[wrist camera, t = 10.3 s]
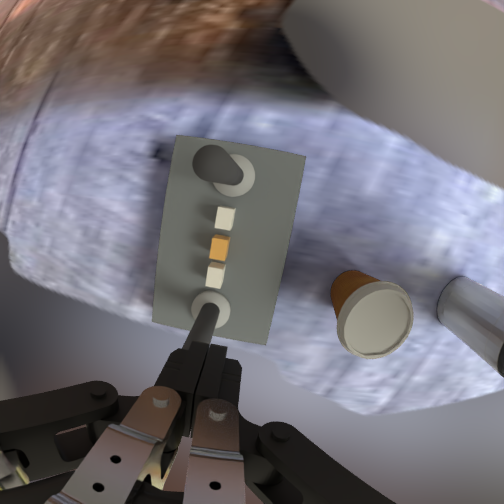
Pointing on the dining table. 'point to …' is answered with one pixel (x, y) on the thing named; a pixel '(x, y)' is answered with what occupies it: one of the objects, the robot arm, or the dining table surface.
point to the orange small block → (219, 247)
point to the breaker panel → (234, 226)
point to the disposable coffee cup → (370, 314)
